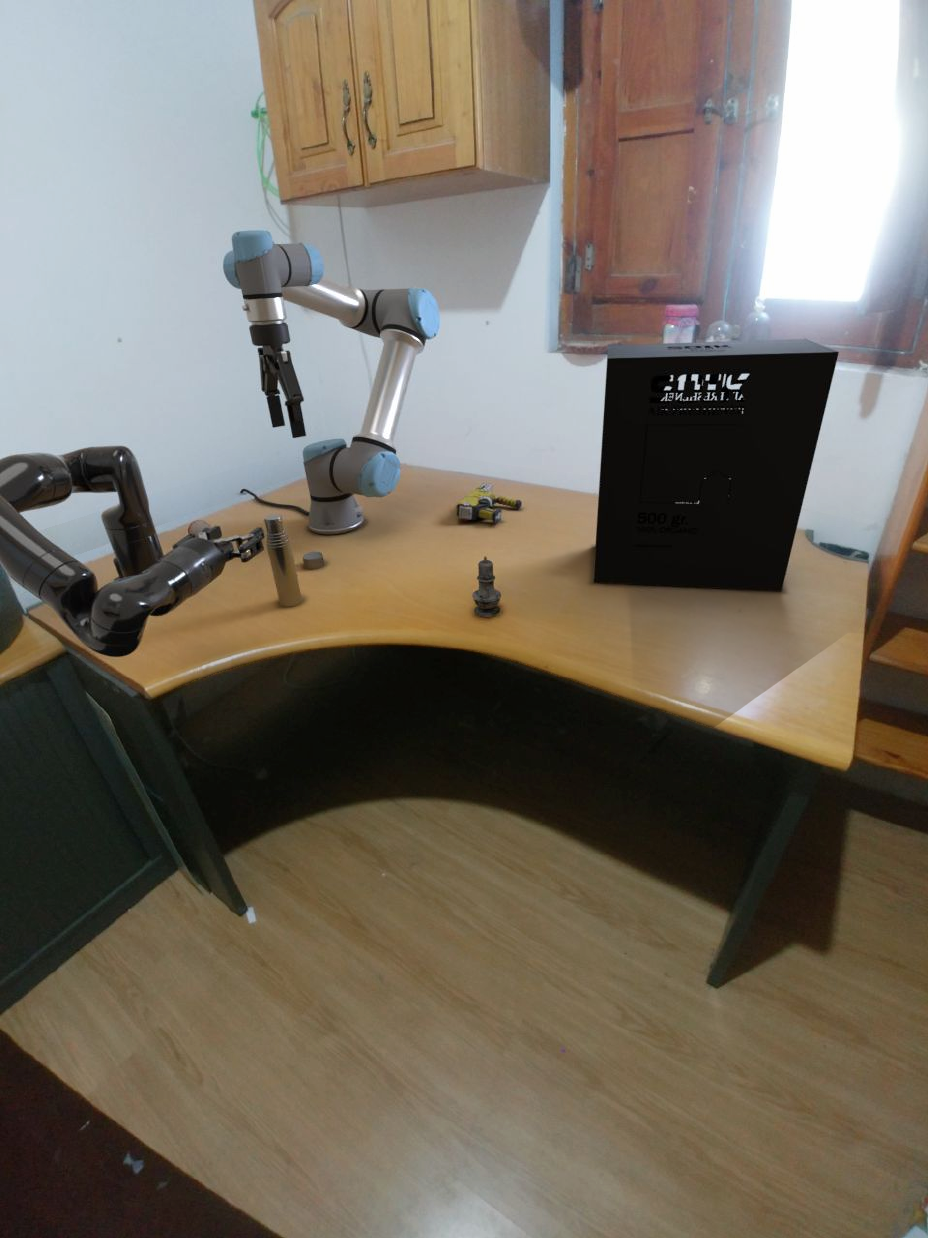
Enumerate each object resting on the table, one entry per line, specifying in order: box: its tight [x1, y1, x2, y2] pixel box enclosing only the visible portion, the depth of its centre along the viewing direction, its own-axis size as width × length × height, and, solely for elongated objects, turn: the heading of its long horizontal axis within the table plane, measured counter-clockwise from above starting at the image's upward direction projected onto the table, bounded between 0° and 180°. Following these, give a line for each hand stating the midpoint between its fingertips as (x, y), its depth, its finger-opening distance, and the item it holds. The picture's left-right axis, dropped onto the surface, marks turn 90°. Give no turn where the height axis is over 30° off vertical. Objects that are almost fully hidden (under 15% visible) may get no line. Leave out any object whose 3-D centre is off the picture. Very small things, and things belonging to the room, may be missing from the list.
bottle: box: [263, 513, 303, 608], centre depth 126 cm, size 5×5×19 cm
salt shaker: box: [471, 555, 502, 618], centre depth 119 cm, size 6×6×12 cm
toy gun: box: [455, 482, 523, 525], centre depth 172 cm, size 5×24×15 cm
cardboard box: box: [593, 338, 840, 592], centre depth 124 cm, size 38×20×45 cm, turn 78°
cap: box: [302, 551, 325, 570], centre depth 146 cm, size 5×5×3 cm
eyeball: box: [187, 519, 212, 536], centre depth 162 cm, size 6×6×6 cm
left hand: (240, 531), depth 110 cm, fingers open, 8 cm apart
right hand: (288, 431), depth 131 cm, fingers open, 13 cm apart
